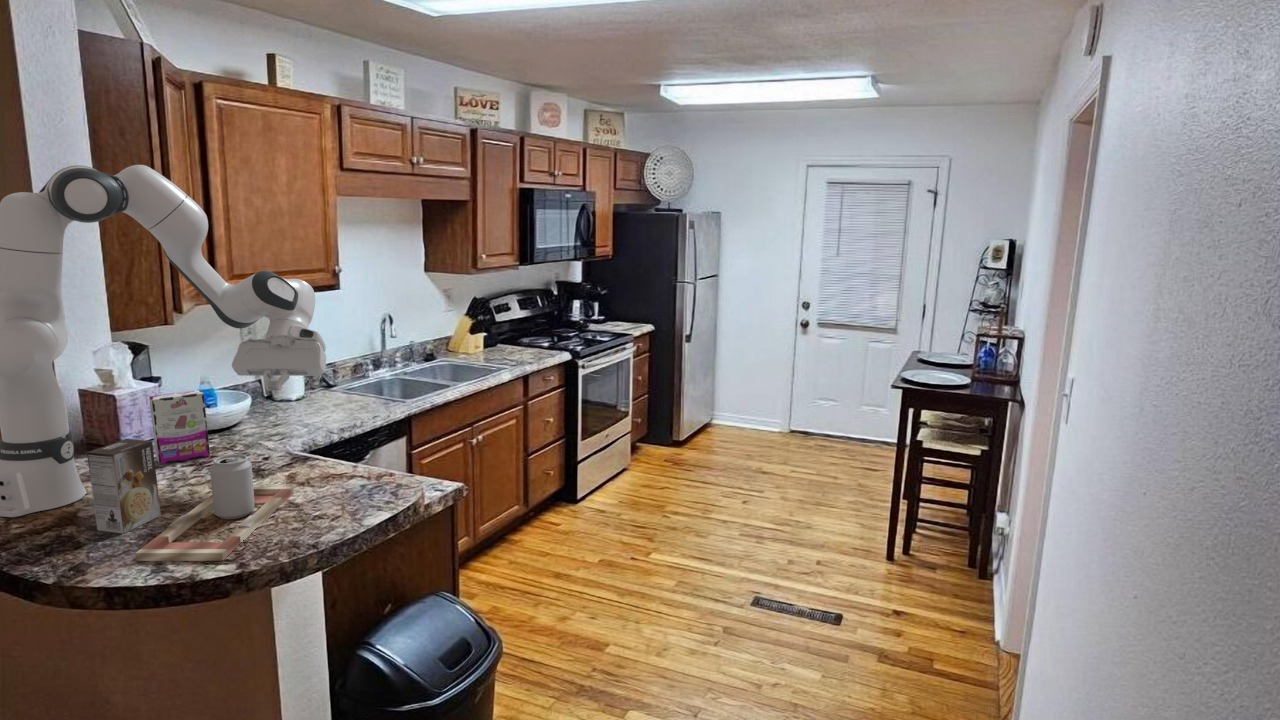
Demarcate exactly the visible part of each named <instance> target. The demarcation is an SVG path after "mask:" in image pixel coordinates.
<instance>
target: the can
mask: <svg viewBox="0 0 1280 720" xmlns="http://www.w3.org/2000/svg"><path fill="white" fill-rule="evenodd" d="M212 463H213V464H212V465H211V466H210V469H209V472H210V473H209V474H210V475H209V476H210V485H211V495H212V498H213V509H212V510H213V514H214V515H215V516H217V517H219V519H222V520H236V519H240V518H243V517H246V516H248V515H250V514H251V513H252V511H253V510H254V509H255V507H256V504H255V503H254V490H253V487H254V481H253V478H254V477H253V468H252V466H253V464H252V462H251V461H249V460H248V455H245V454H241V453H239V454H237V453H234V454H233V453H232V454H225V455H220V456H218V457H216V458H214V459H213V460H212Z"/></svg>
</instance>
